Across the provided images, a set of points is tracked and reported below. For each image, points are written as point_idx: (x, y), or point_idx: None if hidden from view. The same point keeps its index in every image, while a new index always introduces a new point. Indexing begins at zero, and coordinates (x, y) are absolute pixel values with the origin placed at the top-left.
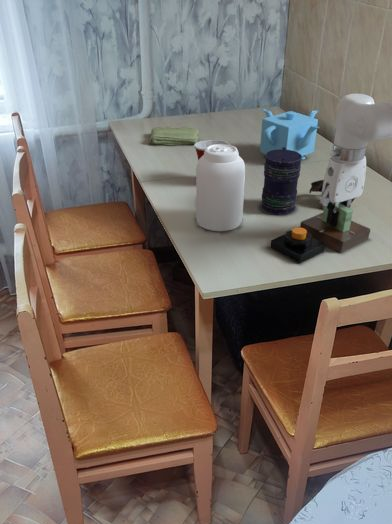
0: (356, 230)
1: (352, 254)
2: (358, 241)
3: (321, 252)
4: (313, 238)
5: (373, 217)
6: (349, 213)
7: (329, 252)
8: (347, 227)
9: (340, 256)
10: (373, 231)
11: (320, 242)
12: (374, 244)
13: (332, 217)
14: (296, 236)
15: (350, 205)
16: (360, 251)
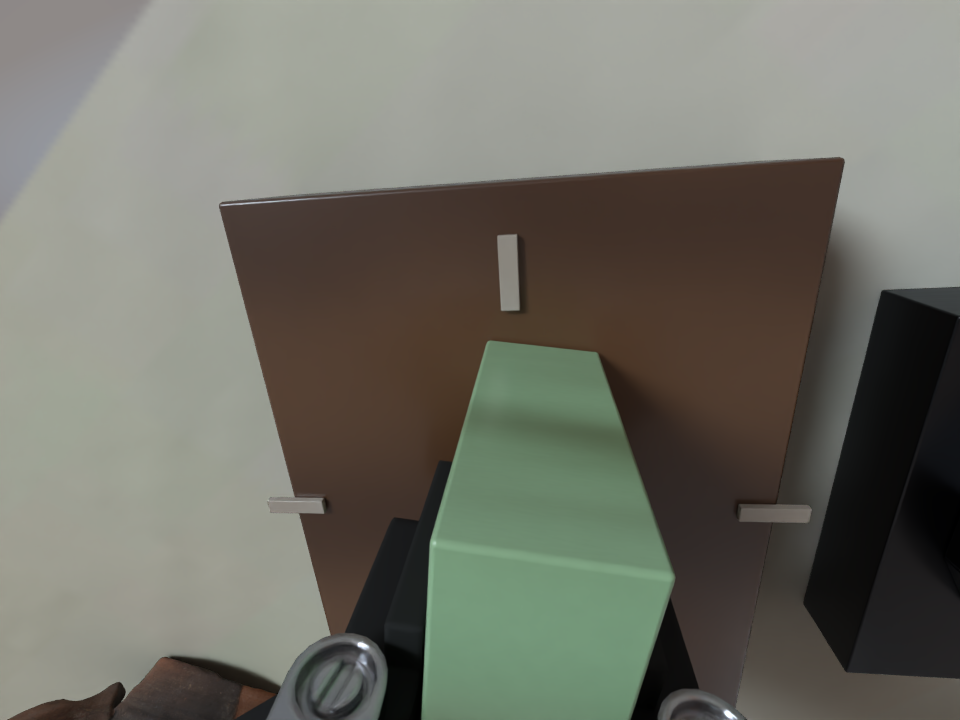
0: (407, 285)
1: (696, 47)
2: (457, 183)
3: (933, 289)
4: (910, 480)
5: (10, 437)
6: (555, 514)
7: (845, 247)
8: (530, 363)
9: (846, 101)
10: (145, 278)
11: (957, 377)
12: (304, 70)
13: (666, 617)
14: None
15: (288, 688)
16: (560, 43)
